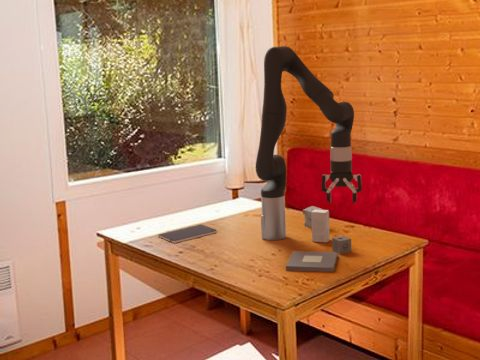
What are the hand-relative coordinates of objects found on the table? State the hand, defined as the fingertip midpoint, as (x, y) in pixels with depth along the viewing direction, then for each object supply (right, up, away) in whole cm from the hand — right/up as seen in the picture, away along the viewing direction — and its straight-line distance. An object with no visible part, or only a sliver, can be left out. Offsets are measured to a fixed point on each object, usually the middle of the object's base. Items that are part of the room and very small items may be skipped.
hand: (341, 202), depth 218 cm
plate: (-12, -21, -8) cm, 25 cm away
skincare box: (-5, -16, +17) cm, 24 cm away
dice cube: (+1, -18, +3) cm, 19 cm away
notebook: (-59, -15, +35) cm, 70 cm away
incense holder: (-6, -12, +36) cm, 38 cm away
